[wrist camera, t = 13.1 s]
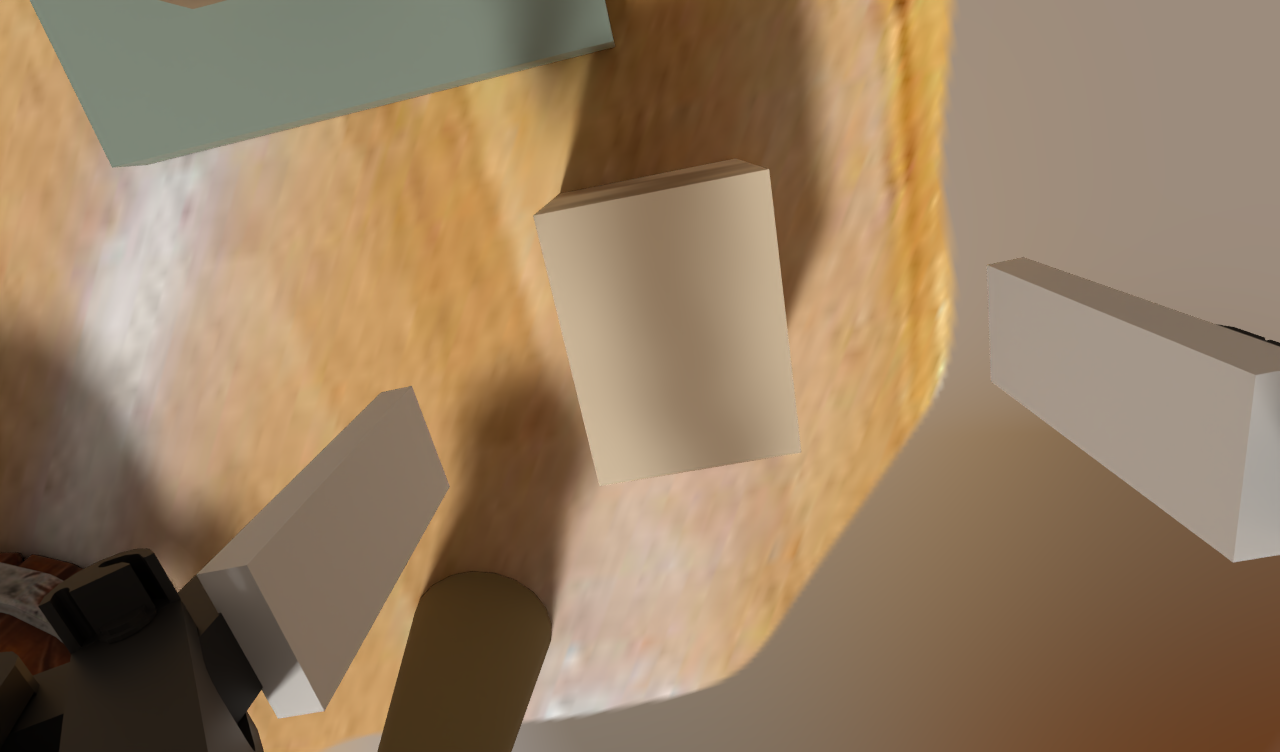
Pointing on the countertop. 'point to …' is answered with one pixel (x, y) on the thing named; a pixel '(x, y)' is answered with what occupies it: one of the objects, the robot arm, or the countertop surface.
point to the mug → (31, 609)
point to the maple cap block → (674, 319)
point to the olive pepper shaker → (468, 667)
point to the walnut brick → (192, 3)
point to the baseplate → (289, 60)
